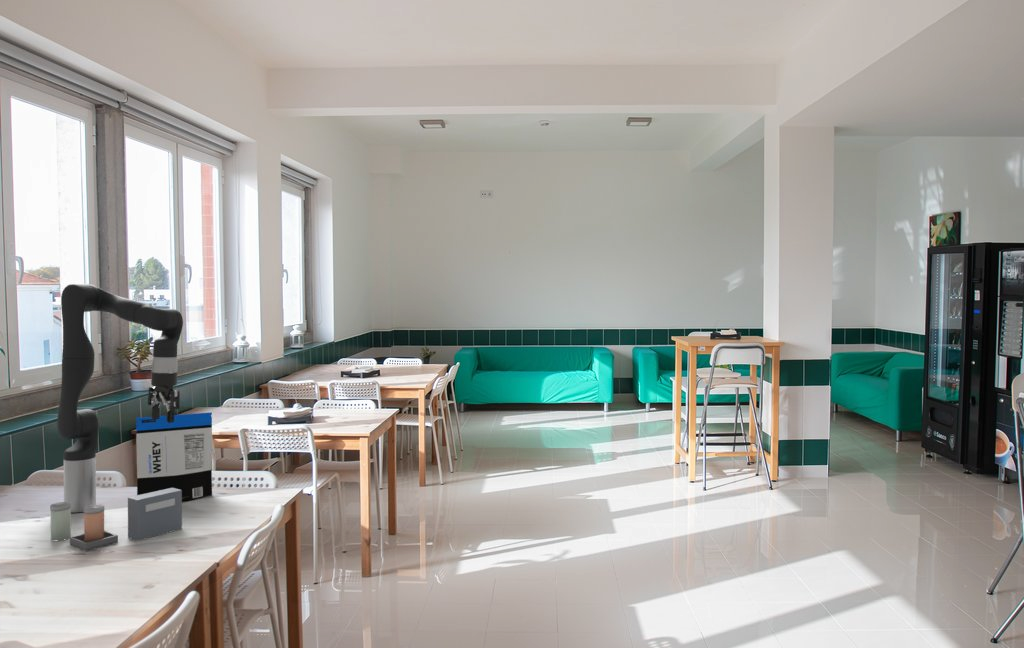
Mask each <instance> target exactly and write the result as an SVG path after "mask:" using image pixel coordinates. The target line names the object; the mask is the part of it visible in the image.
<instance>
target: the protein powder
mask: <svg viewBox="0 0 1024 648" xmlns="http://www.w3.org/2000/svg"><path fill="white" fill-rule="evenodd" d="M212 415H213V412H201V413H199V412H196V413H187V414H175V415H174V422H173V423H167V415H160V416H159V419H155V420H154V419H152V416H145V417H144V416H143V417H136V419H135V420H136V424H135V425H136V426H135V427H136V430H135V431H136V433H135V434H136V442H135V443H136V476H137V477H136V479H137V481H136V482H137V483H136V486H137V487H136V496H137V495H141V494H146V493H150V492H155V491H159V490H164V489H168V488H176V489H179V490H182V503H187V502H192V501H196V500H200V499H204V498H207V497H210V496H213V476H212V475H213V473H212V466H213V465H212V462H213V461H212V458H213V455H212V453H213V417H212Z"/></svg>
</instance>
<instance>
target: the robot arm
mask: <svg viewBox="0 0 1024 648" xmlns="http://www.w3.org/2000/svg"><path fill="white" fill-rule="evenodd" d="M60 303H61V305H60V306H61V318H62V355H61V389H60V398H59V405H58V412H57V420H56V421H57V422H56V426H57V427H56V428H57V433H58V435H59V436H60V438H62V440H65V441H68V440H69V441H70V440H76V441H75V442H74V443H73V445H71V446H70V447H68V448H66V449H65V450H64V452H63V502H70V503H71V513H84V508H85V507H87V506H91V505H97V481H96V480H97V479H96V478H97V468H96V465H97V463H96V461H97V459H96V455H97V454H96V453H97V450H98V445H99V426H100V425H99V418H98V415H97V413H96V412H95V410H93V409H89V408H84V409H78V405H79V401H80V397H81V395H82V392H83V391H84V389H85V388H86V387H87V385H88V383H89V382H90V380H91V379H92V376H93V374H94V371H95V349H94V347H93V344H92V342H91V340H90V338H89V336H88V334H87V332H86V329H85V320H84V319H85V313H88V312H106V313H109V314H113V315H115V316H116V317H118V318H119V319H121V320H123V321H126V322H130V323H135V324H138V325H143V327H146V328H148V329H151V330H154V331H159V332H161V335H160V337H158V338H156V339H155V340H154V341H153V345H152V346H153V347H152V361H151V375H150V376H151V378H150V384H151V386H149V387H148V395H147V405H148V406H150V408H151V417H152V419H154V420H155V419H159V416H161V415H160V414H161V413H160V406H161V405H162V403H163V406H165V408H166V416H167V423H173V422H174V415H176V414H175V412H176V411H177V410H180V409H181V408H180V403H181V402H180V396H181V395H180V390H174V387H175V386H177V385H178V367H179V364H178V343H179V340H180V337H181V334H182V331H183V327H184V326H183V325H184V320H183V319H184V318H183V315H182V313H181V312H180V311H179V310H177V309H174V308H157V307H154V306H152V305H151V304H149V303H148V302H147V303H146V302H142V301H140V300H135V299H130V298H127V297H123V296H119V295H116V294H114V293H111V292H110V291H107V290H105V289H102V287H101V288H100V287H98V286H96V285H94V284H90V283H71V284H67V285H66V286H65V287H64V288H63V290H62V293H61V298H60Z"/></svg>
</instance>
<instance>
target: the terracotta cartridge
mask: <svg viewBox="0 0 1024 648" xmlns="http://www.w3.org/2000/svg"><path fill="white" fill-rule="evenodd" d="M83 514H84V515H83V520H84V521H83V523H84V525H83V527H84V528H83V531H84V533H83V534H84V542H86V543H88V542H92V541H95V540H99V539H103V538H104V530H105V505H104V504H96V505H91V506H87V507H85V508H84V512H83Z"/></svg>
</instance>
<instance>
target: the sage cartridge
mask: <svg viewBox="0 0 1024 648" xmlns="http://www.w3.org/2000/svg"><path fill="white" fill-rule="evenodd" d="M49 510H50V541H52V540H61V541H65V540H64V539H66V540H68V538H69V539H70V537H72V535H71V534H72V531H71V530H72V529H71V528H72V525H71V520H72V519H71V515H72V514H71V503H70V502H64V501H61V502H55V503H52V504H50V505H49Z"/></svg>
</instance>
